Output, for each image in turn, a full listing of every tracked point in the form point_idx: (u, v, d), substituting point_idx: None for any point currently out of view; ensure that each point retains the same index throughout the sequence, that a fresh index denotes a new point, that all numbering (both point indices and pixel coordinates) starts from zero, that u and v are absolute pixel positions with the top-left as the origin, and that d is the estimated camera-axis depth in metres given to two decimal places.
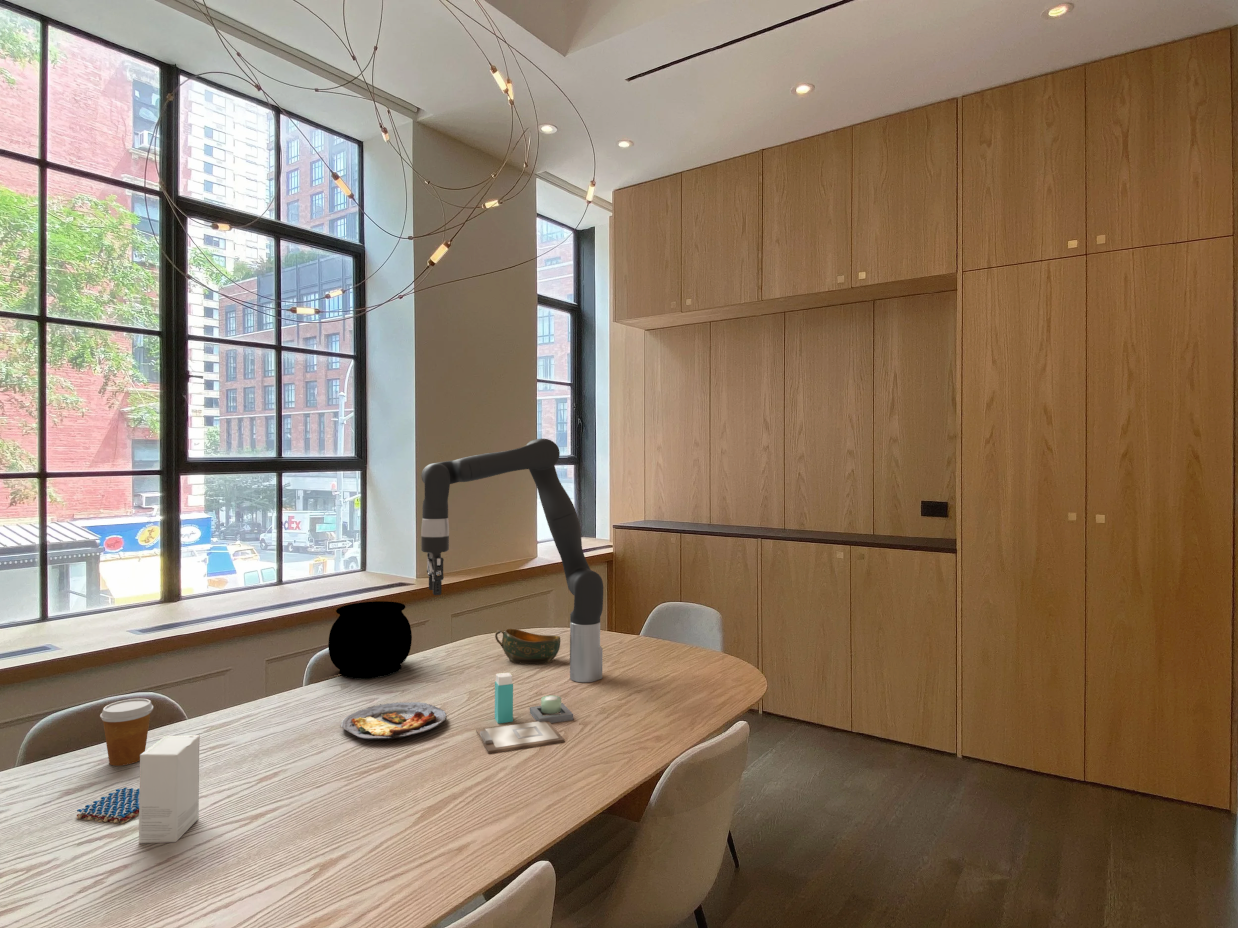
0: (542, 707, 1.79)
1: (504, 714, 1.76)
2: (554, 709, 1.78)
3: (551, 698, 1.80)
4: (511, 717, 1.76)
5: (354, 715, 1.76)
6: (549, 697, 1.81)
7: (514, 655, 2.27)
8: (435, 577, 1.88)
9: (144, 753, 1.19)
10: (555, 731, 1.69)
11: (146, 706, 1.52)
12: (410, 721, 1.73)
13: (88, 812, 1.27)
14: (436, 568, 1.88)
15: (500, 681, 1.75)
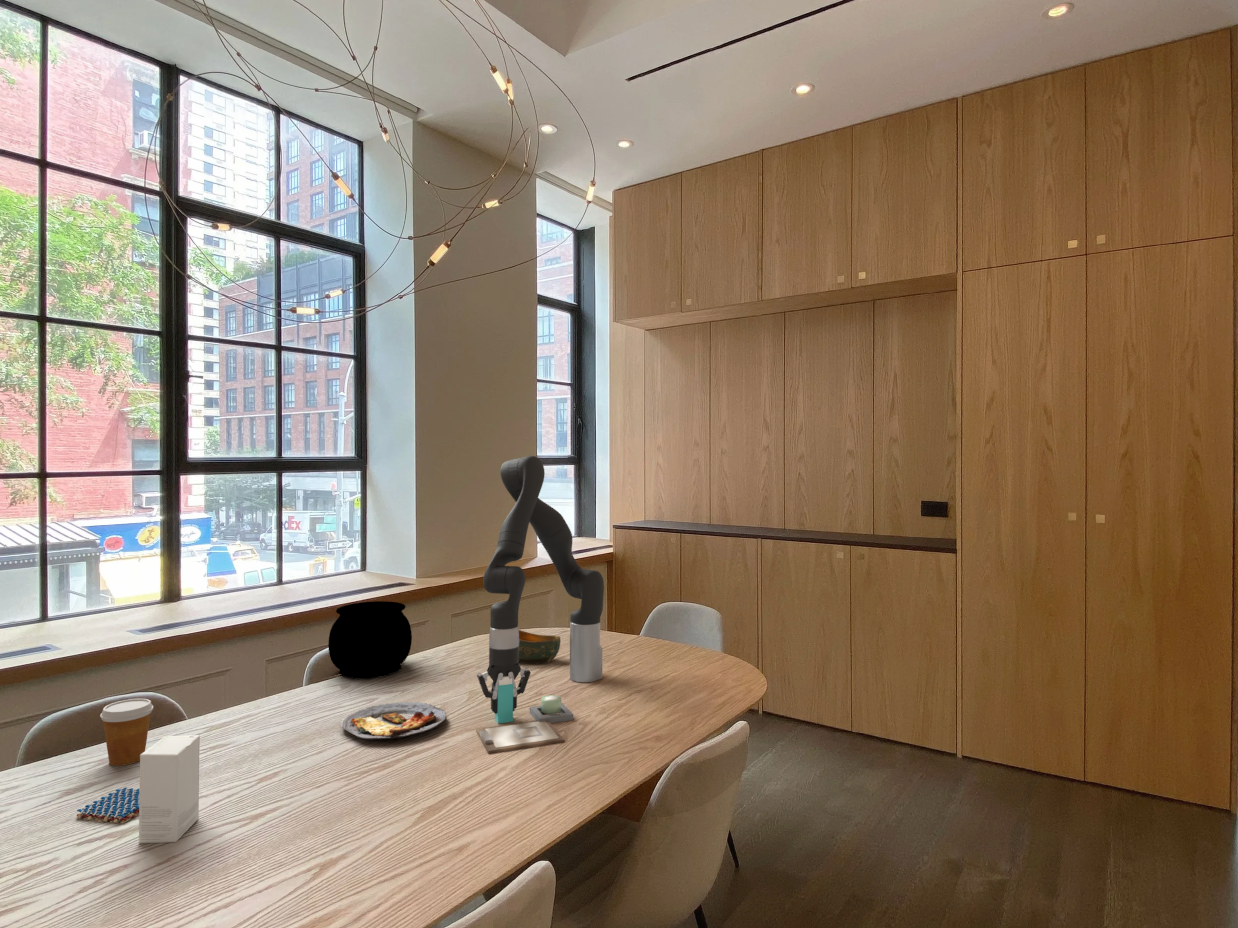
0: (542, 707, 1.79)
1: (504, 714, 1.76)
2: (554, 709, 1.78)
3: (551, 698, 1.80)
4: (511, 717, 1.76)
5: (354, 715, 1.76)
6: (549, 697, 1.81)
7: None
8: None
9: (144, 753, 1.19)
10: (555, 731, 1.69)
11: (146, 706, 1.52)
12: (410, 721, 1.73)
13: (88, 812, 1.27)
14: None
15: (500, 681, 1.75)
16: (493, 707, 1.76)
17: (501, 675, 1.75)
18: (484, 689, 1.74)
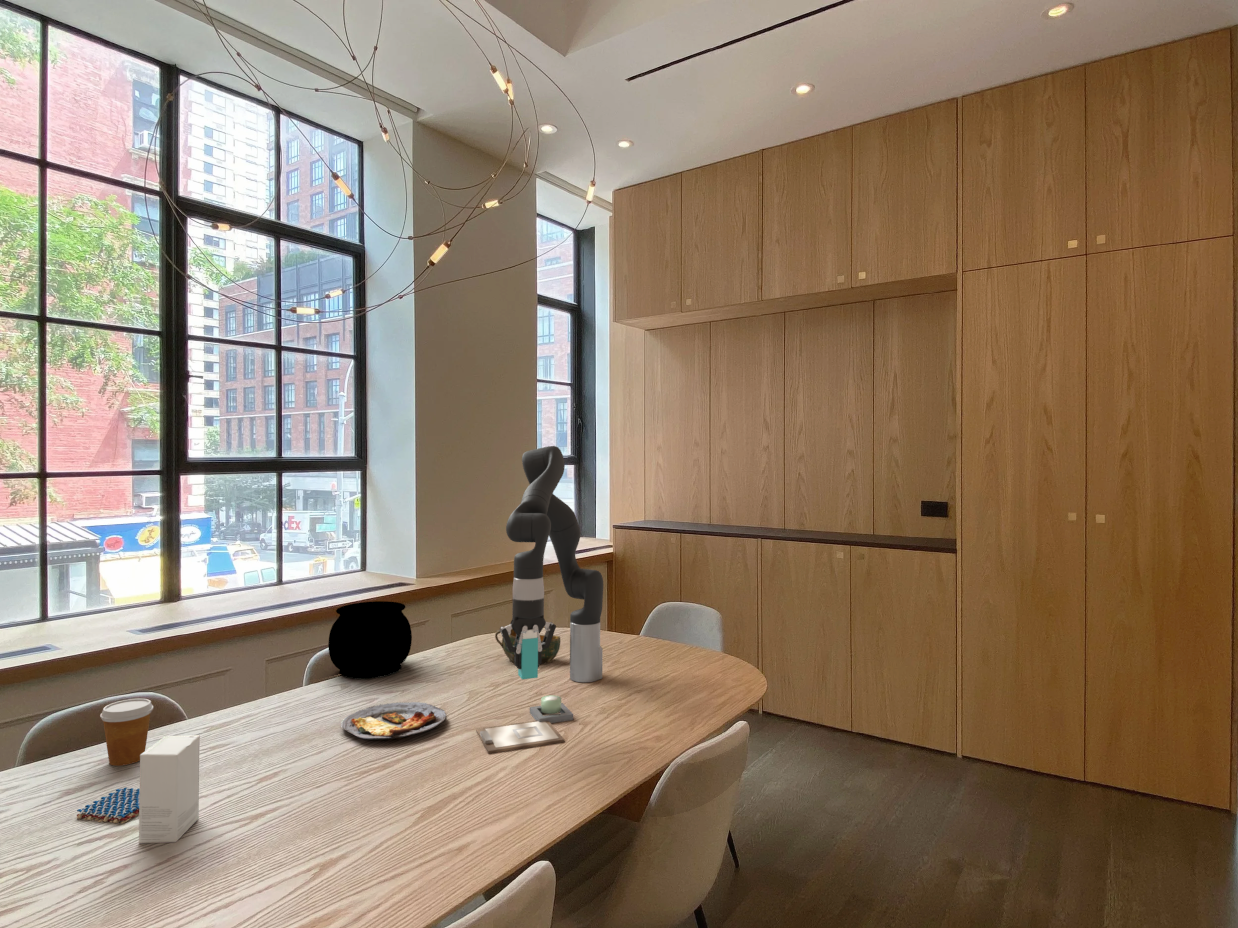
0: (542, 707, 1.79)
1: (528, 670, 1.66)
2: (554, 709, 1.78)
3: (551, 698, 1.80)
4: (536, 673, 1.66)
5: (354, 715, 1.76)
6: (549, 697, 1.81)
7: None
8: None
9: (144, 753, 1.19)
10: (555, 731, 1.69)
11: (146, 706, 1.52)
12: (410, 721, 1.73)
13: (88, 812, 1.27)
14: None
15: (524, 634, 1.66)
16: (517, 662, 1.66)
17: (525, 628, 1.65)
18: (507, 643, 1.64)
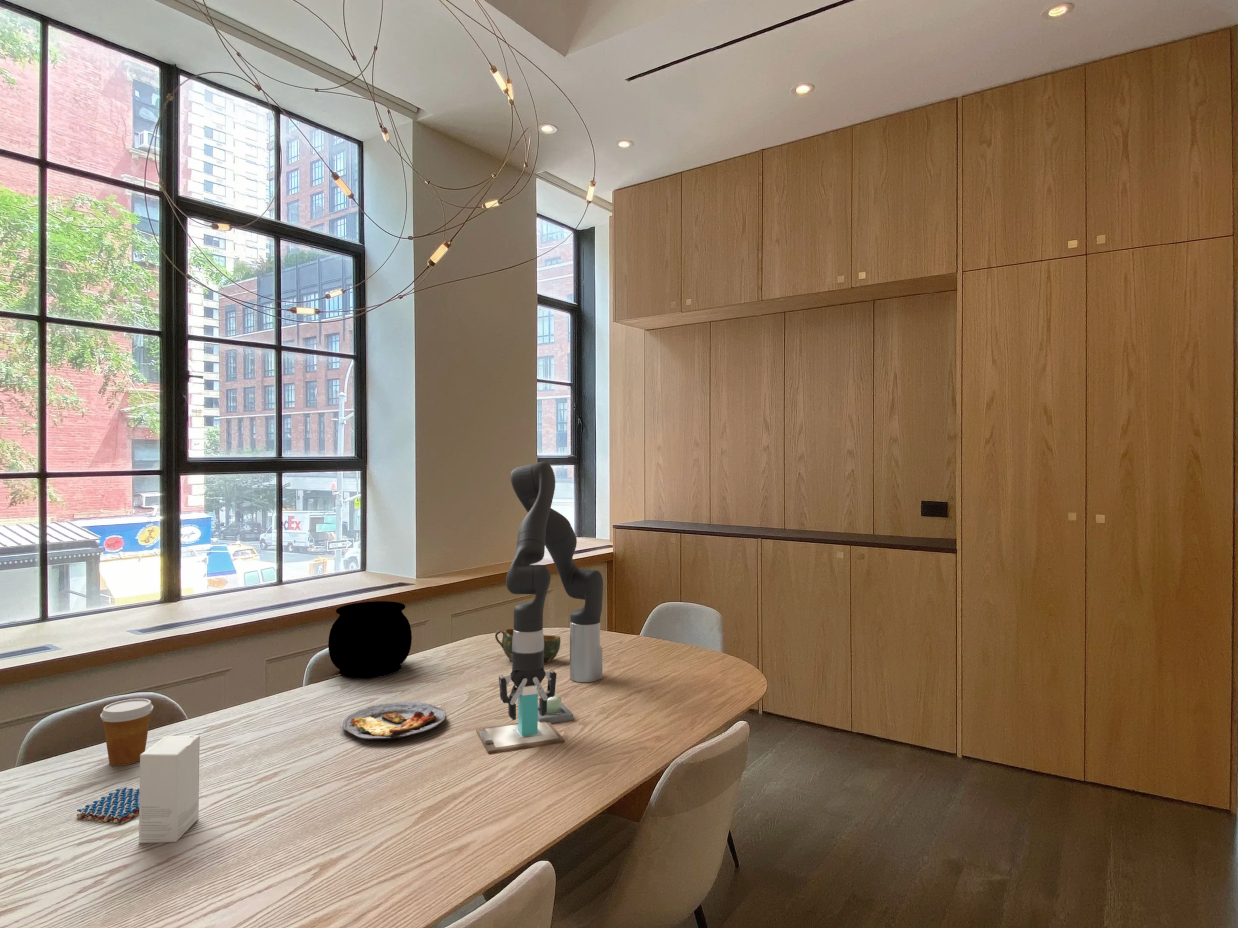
0: None
1: (528, 726, 1.66)
2: (554, 709, 1.78)
3: (551, 698, 1.80)
4: (536, 729, 1.66)
5: (354, 715, 1.76)
6: None
7: None
8: None
9: (144, 753, 1.19)
10: (555, 731, 1.69)
11: (146, 706, 1.52)
12: (410, 721, 1.73)
13: (88, 812, 1.27)
14: None
15: (524, 691, 1.65)
16: (511, 713, 1.65)
17: (525, 681, 1.65)
18: (503, 693, 1.64)
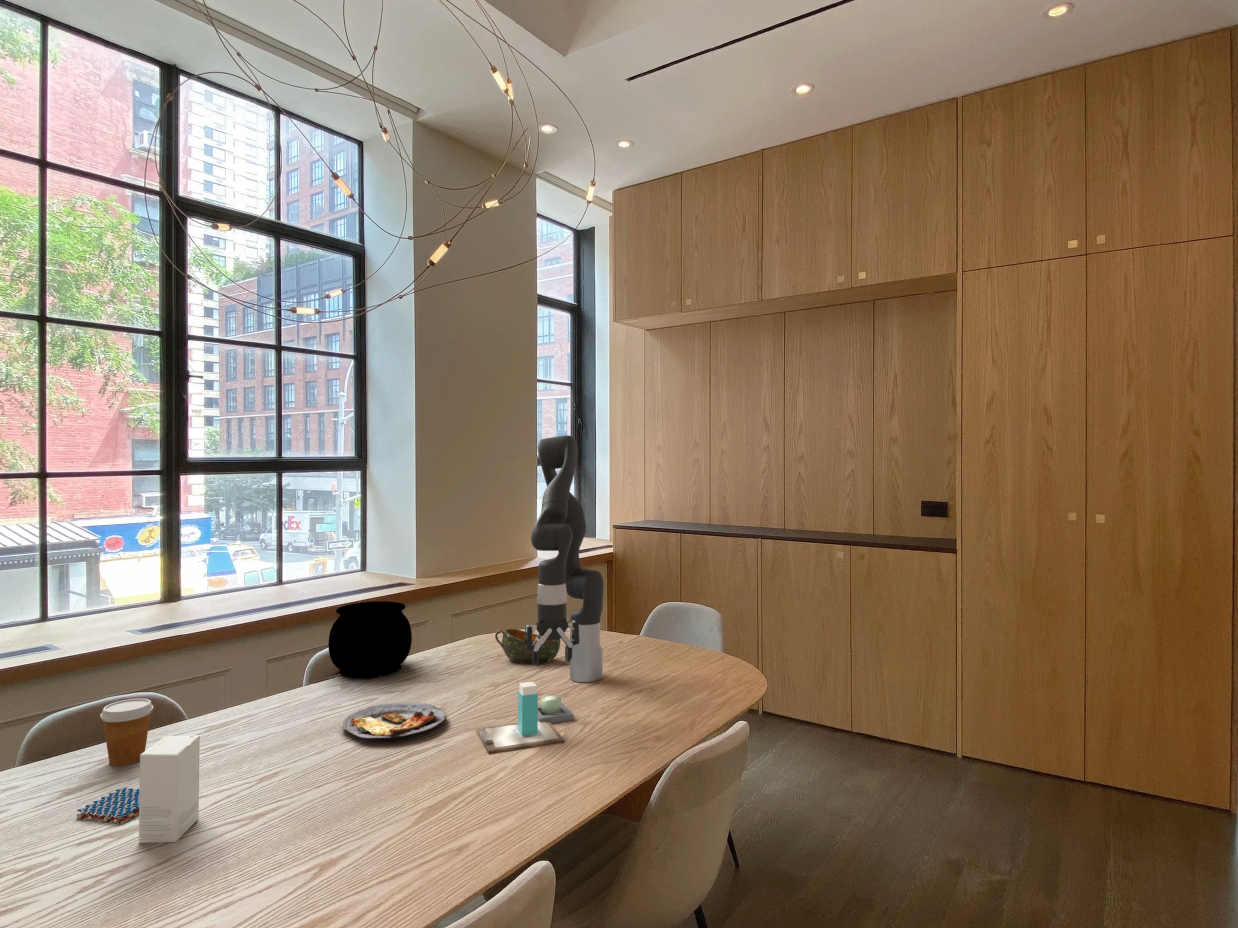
0: (542, 707, 1.79)
1: (528, 726, 1.66)
2: (554, 709, 1.78)
3: (551, 698, 1.80)
4: (536, 729, 1.66)
5: (354, 715, 1.76)
6: (549, 697, 1.81)
7: (514, 655, 2.27)
8: None
9: (144, 753, 1.19)
10: (555, 731, 1.69)
11: (146, 706, 1.52)
12: (410, 721, 1.73)
13: (88, 812, 1.27)
14: None
15: (524, 691, 1.65)
16: (534, 659, 1.78)
17: (550, 631, 1.78)
18: (528, 640, 1.77)
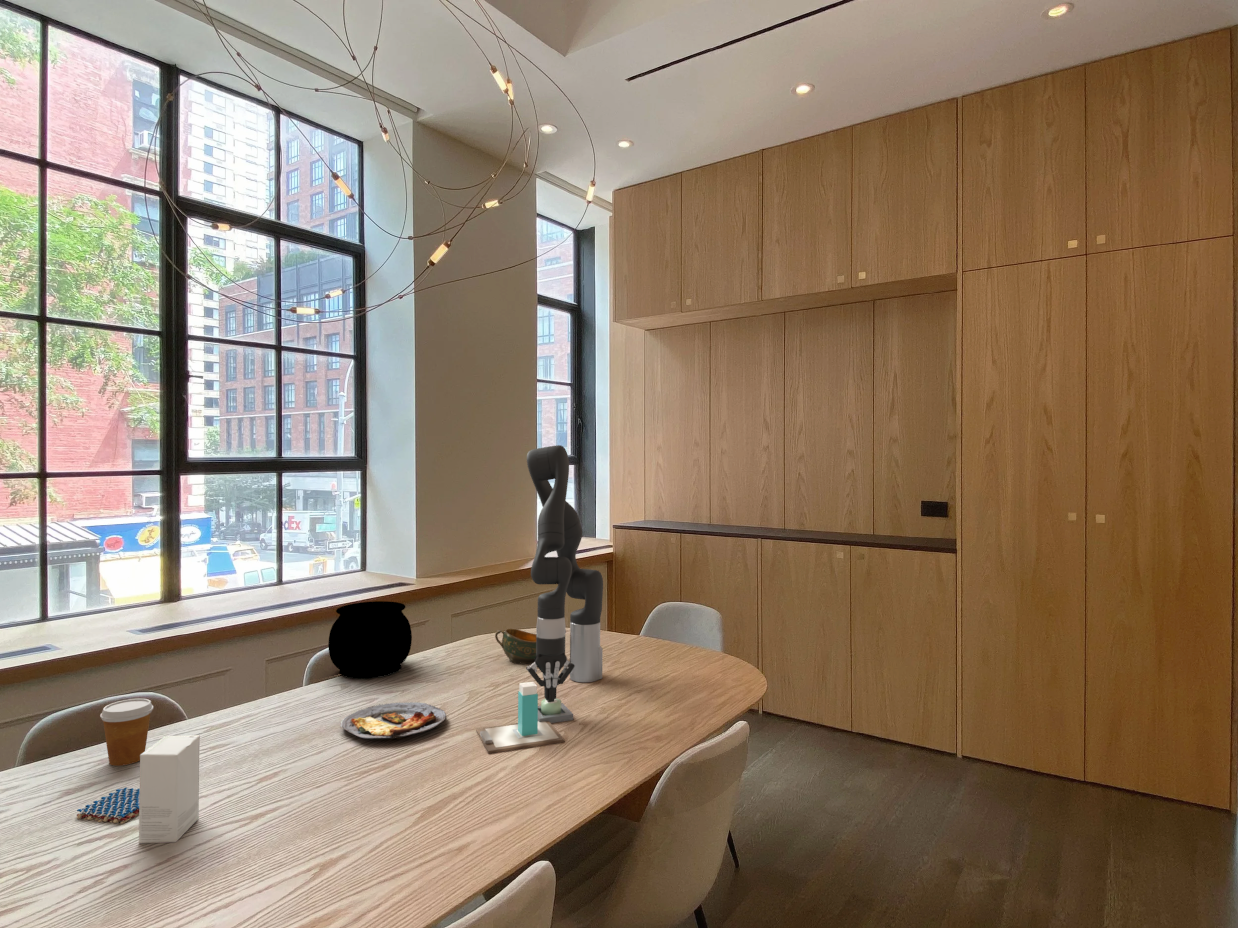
0: (542, 710, 1.79)
1: (528, 726, 1.66)
2: (554, 712, 1.78)
3: None
4: (536, 729, 1.66)
5: (353, 715, 1.76)
6: None
7: (514, 655, 2.27)
8: None
9: (144, 753, 1.19)
10: (555, 731, 1.69)
11: (146, 706, 1.52)
12: (410, 721, 1.73)
13: (88, 812, 1.27)
14: None
15: (524, 691, 1.65)
16: (547, 696, 1.79)
17: (548, 664, 1.78)
18: (537, 679, 1.78)
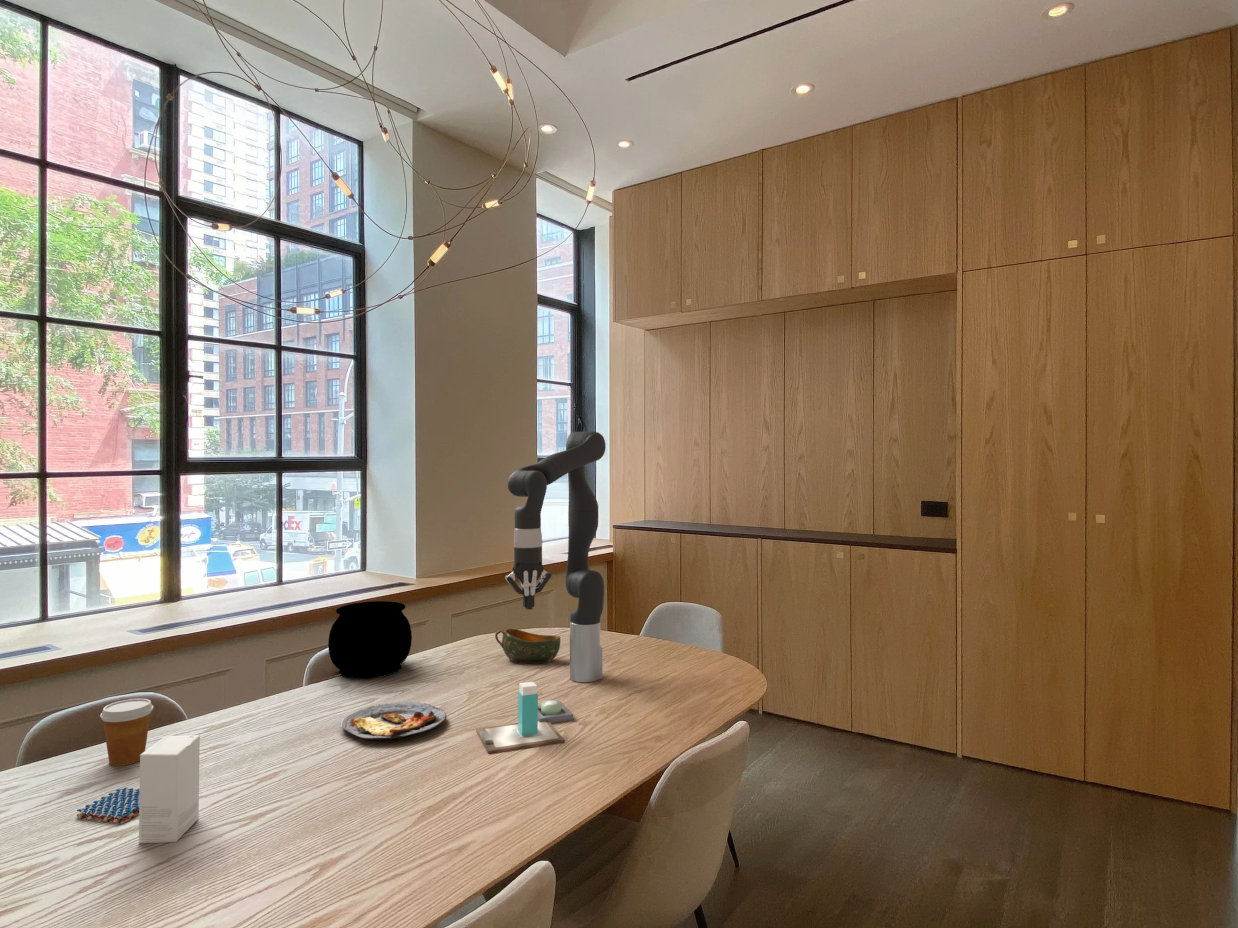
0: (542, 712, 1.79)
1: (528, 726, 1.66)
2: None
3: (551, 703, 1.80)
4: (536, 729, 1.66)
5: (353, 715, 1.76)
6: (549, 702, 1.81)
7: (514, 655, 2.27)
8: None
9: (144, 753, 1.19)
10: (555, 731, 1.69)
11: (146, 706, 1.52)
12: (410, 721, 1.73)
13: (88, 812, 1.27)
14: None
15: (524, 691, 1.65)
16: (525, 603, 1.86)
17: (526, 573, 1.85)
18: (515, 587, 1.85)
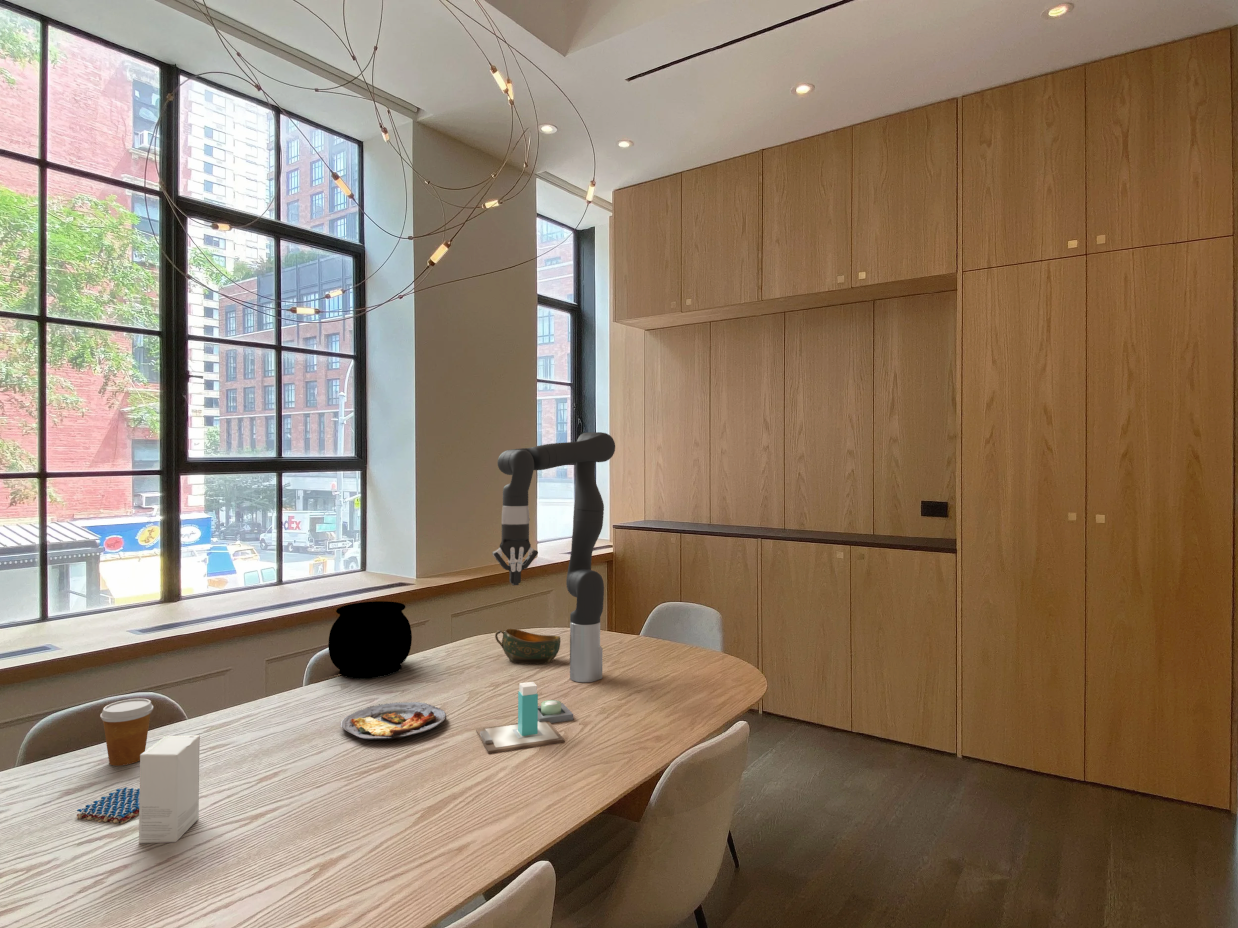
0: (542, 712, 1.79)
1: (528, 726, 1.66)
2: None
3: (551, 703, 1.80)
4: (536, 729, 1.66)
5: (353, 715, 1.76)
6: (549, 702, 1.81)
7: (514, 655, 2.27)
8: None
9: (144, 753, 1.19)
10: (555, 731, 1.69)
11: (146, 706, 1.52)
12: (410, 721, 1.73)
13: (88, 812, 1.27)
14: None
15: (524, 691, 1.65)
16: (512, 579, 1.91)
17: (513, 549, 1.89)
18: (502, 563, 1.89)
